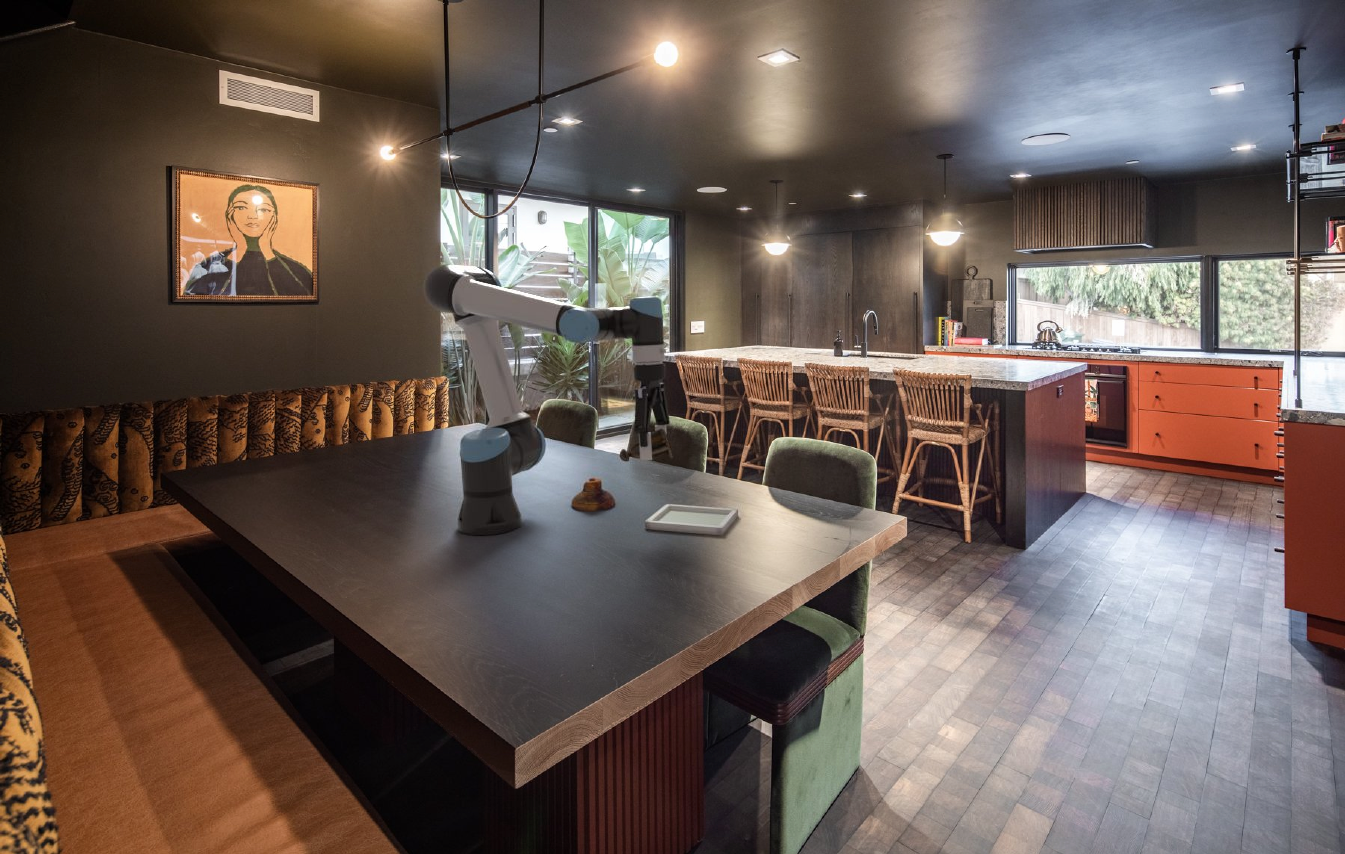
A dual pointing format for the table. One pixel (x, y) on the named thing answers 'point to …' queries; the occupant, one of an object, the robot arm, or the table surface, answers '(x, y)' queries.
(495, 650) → the table surface
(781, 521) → the table surface
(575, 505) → the bell
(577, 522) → the table surface
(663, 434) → the brown piece
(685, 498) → the table surface
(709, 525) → the tray
